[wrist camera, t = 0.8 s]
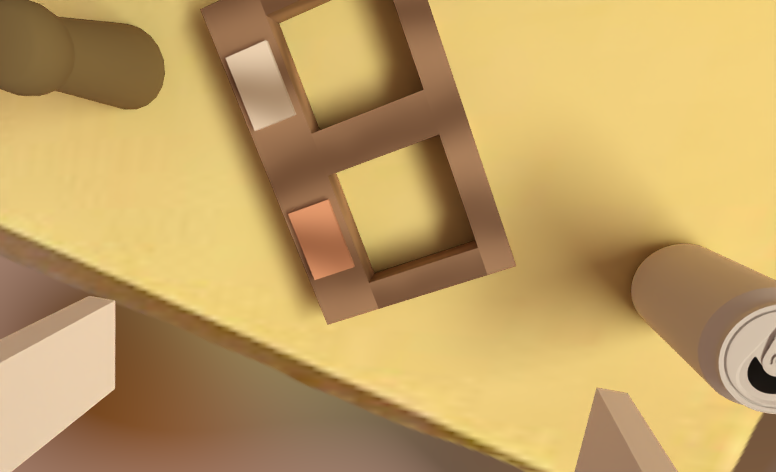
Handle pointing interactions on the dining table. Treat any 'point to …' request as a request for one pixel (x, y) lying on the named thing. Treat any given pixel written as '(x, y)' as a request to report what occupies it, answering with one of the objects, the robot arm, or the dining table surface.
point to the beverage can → (713, 319)
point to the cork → (77, 57)
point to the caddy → (353, 156)
